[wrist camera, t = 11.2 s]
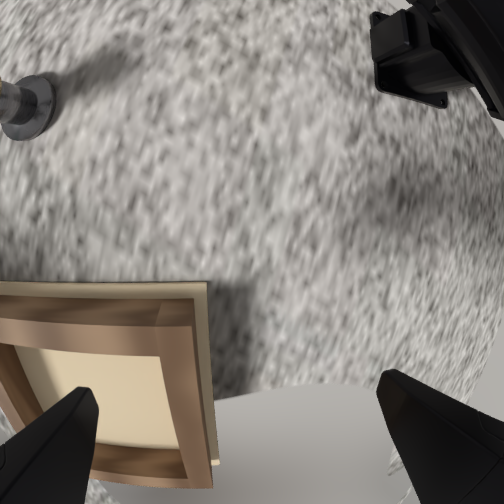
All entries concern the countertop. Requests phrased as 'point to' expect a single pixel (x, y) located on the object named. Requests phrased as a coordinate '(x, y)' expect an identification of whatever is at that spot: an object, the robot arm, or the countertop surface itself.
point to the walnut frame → (116, 343)
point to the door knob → (26, 107)
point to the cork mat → (119, 369)
